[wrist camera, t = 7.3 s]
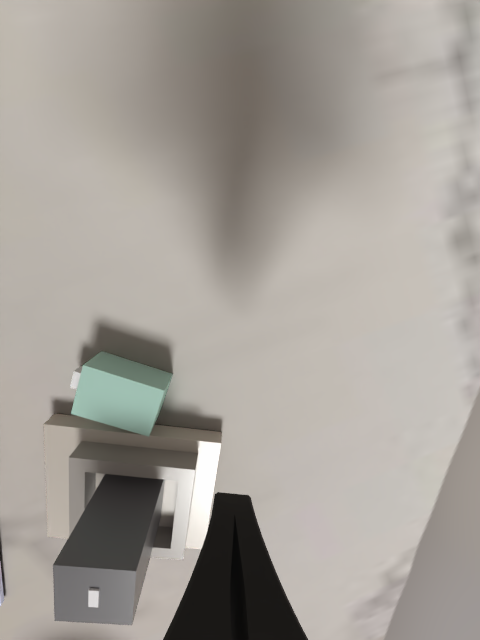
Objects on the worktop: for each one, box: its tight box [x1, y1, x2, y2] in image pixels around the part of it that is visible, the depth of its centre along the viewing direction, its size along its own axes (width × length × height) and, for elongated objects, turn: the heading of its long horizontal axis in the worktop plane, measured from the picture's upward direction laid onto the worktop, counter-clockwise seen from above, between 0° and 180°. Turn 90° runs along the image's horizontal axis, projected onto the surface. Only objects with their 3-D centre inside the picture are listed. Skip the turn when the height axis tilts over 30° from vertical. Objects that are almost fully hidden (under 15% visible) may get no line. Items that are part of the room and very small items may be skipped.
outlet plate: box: [43, 414, 222, 560], centre depth 19 cm, size 10×12×3 cm
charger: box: [53, 474, 165, 625], centre depth 16 cm, size 4×4×6 cm
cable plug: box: [70, 351, 173, 437], centre depth 17 cm, size 4×6×2 cm, turn 69°
